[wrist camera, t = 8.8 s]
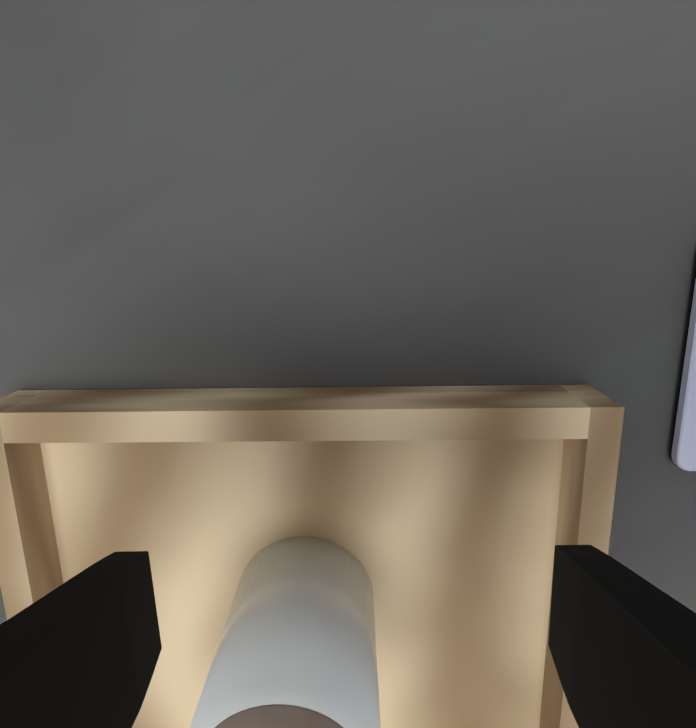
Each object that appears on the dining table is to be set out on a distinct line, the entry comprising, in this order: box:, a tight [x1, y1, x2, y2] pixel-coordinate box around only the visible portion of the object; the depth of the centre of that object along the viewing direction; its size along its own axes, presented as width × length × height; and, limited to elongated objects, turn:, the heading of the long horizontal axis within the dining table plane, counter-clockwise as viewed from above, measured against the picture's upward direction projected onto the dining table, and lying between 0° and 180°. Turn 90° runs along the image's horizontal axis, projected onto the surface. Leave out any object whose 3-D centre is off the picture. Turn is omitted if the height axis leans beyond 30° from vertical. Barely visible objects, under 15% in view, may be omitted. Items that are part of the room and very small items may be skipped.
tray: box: [0, 385, 625, 728], centre depth 19 cm, size 20×16×2 cm
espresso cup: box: [190, 537, 381, 728], centre depth 16 cm, size 5×6×7 cm
